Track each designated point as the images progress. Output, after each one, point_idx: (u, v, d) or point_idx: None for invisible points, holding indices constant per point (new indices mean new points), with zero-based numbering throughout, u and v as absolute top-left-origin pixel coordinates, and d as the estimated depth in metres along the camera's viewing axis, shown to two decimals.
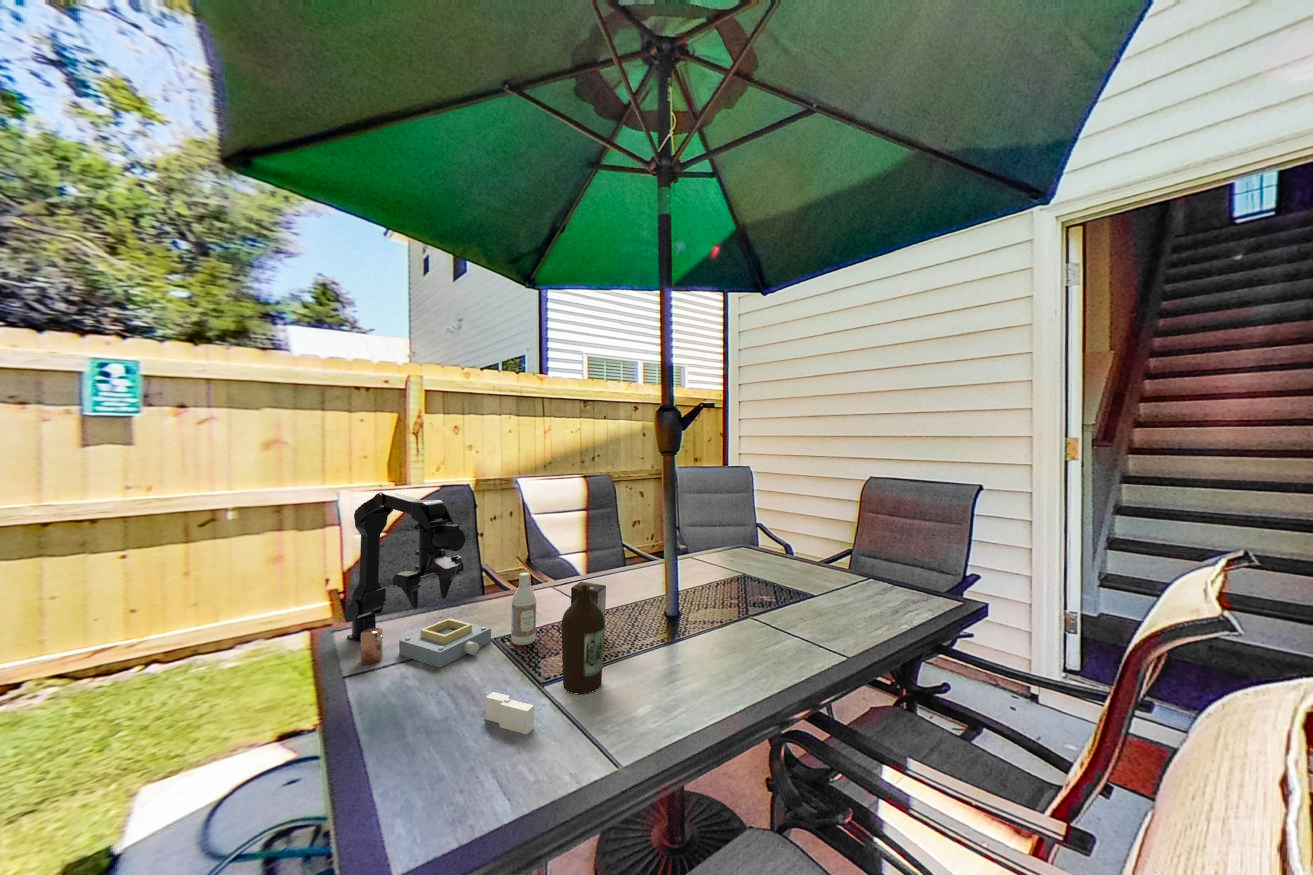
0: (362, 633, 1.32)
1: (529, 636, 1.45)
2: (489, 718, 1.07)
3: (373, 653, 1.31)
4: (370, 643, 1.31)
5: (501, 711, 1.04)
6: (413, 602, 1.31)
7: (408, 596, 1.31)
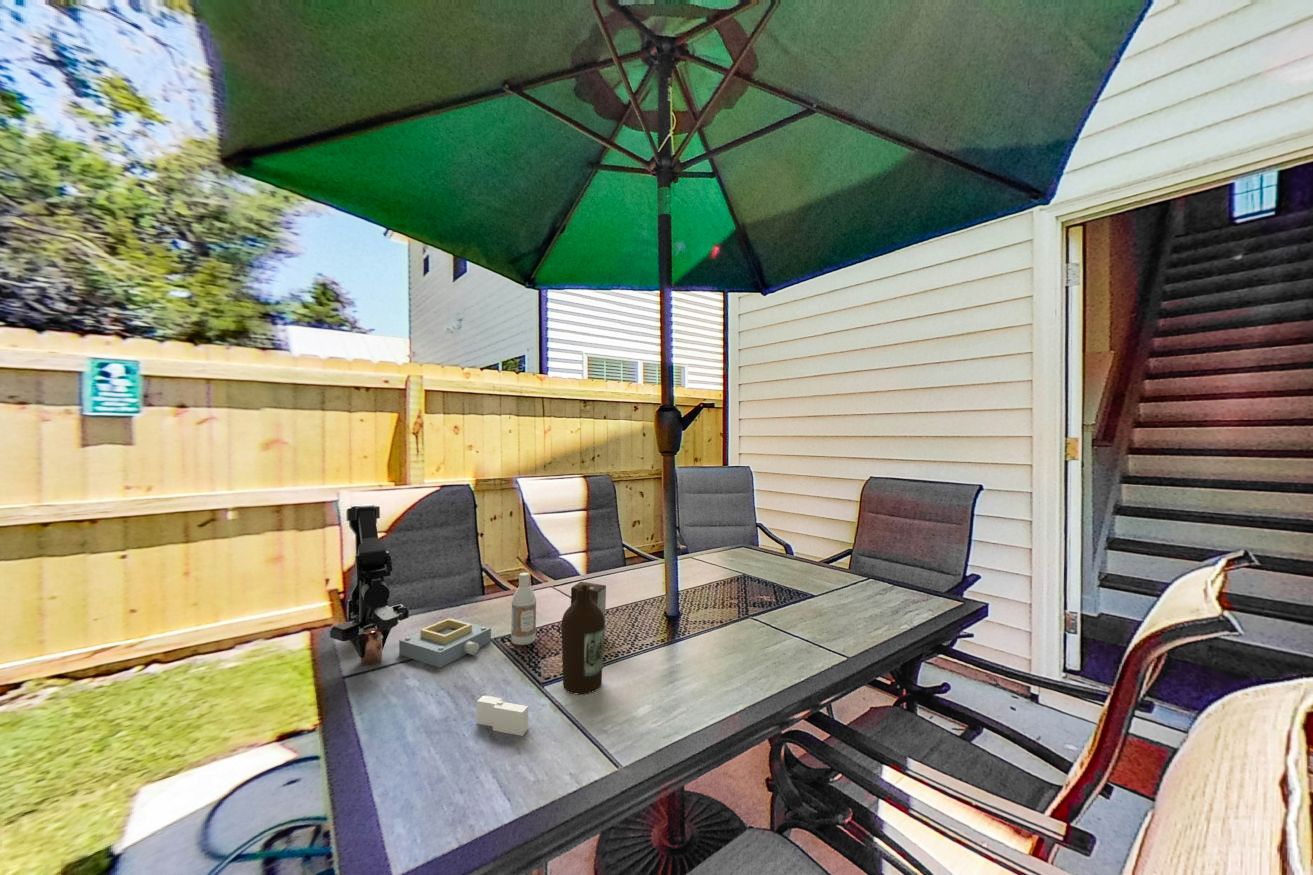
0: None
1: (529, 636, 1.45)
2: (481, 721, 1.06)
3: (373, 653, 1.31)
4: (370, 643, 1.31)
5: (494, 714, 1.03)
6: (359, 651, 1.30)
7: (354, 645, 1.30)
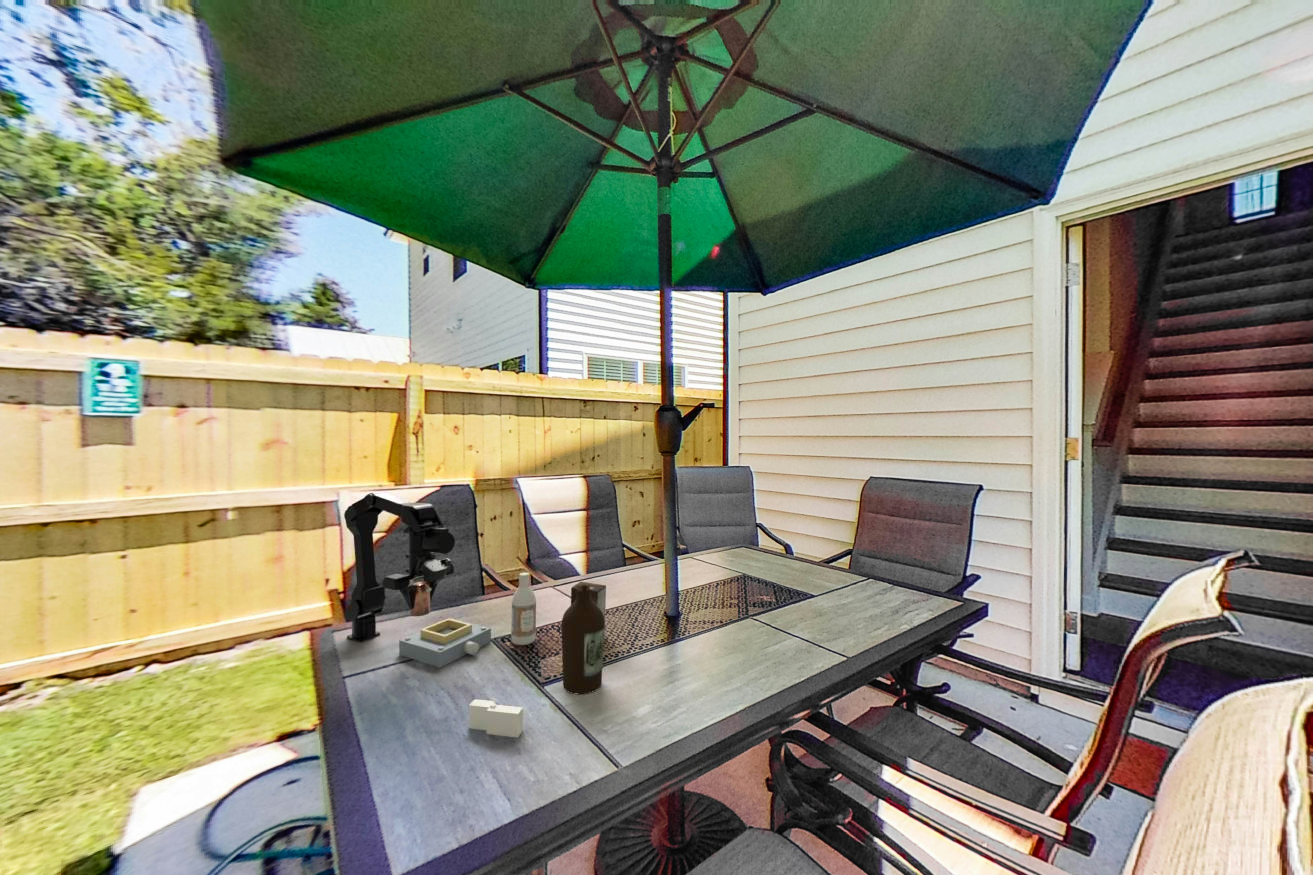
0: None
1: (529, 636, 1.45)
2: (473, 726, 1.04)
3: (422, 604, 1.36)
4: (419, 594, 1.36)
5: (488, 717, 1.02)
6: (409, 602, 1.35)
7: (405, 596, 1.35)
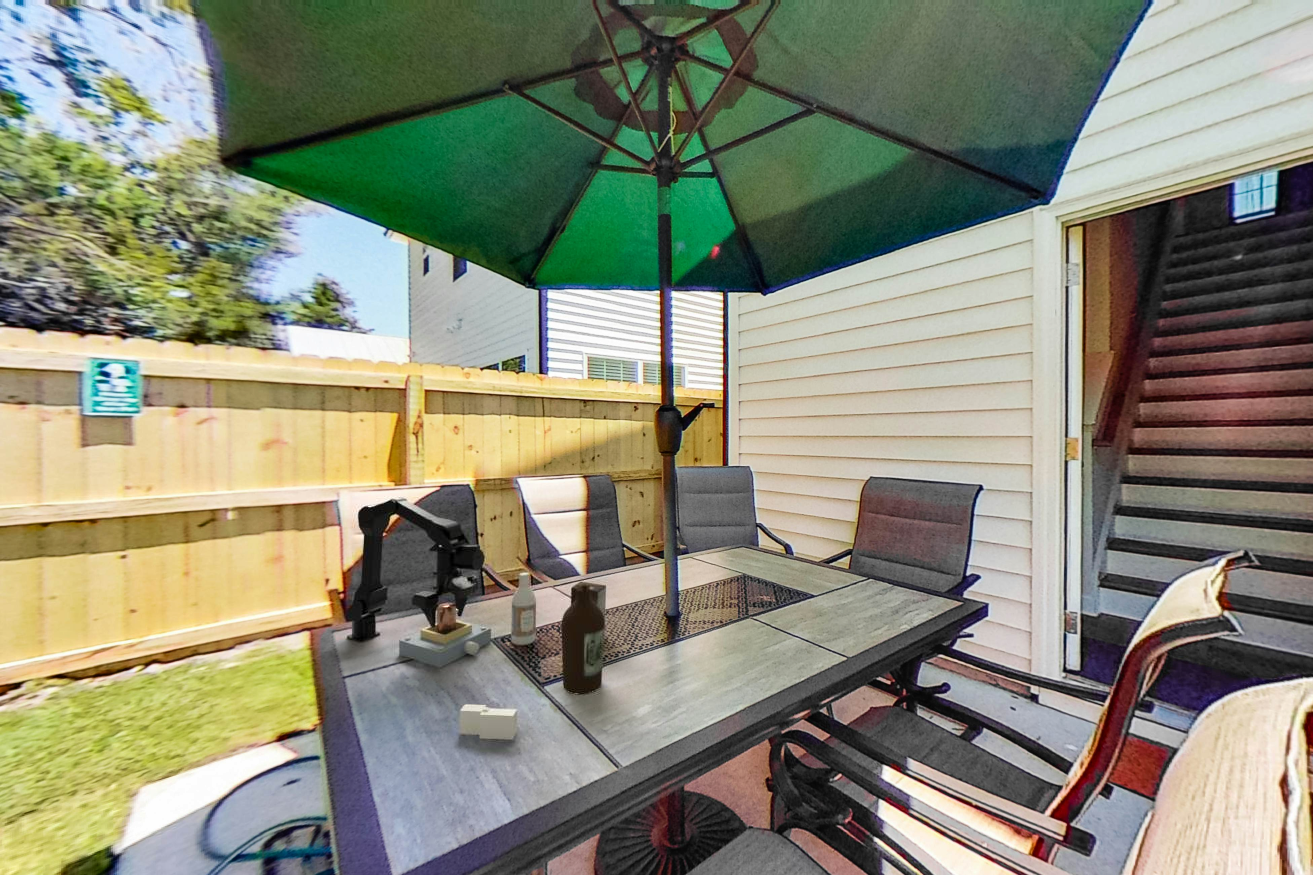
0: (438, 607, 1.40)
1: (529, 636, 1.45)
2: (464, 731, 1.02)
3: (449, 626, 1.40)
4: (446, 616, 1.39)
5: (481, 721, 1.01)
6: (431, 621, 1.37)
7: (426, 615, 1.37)
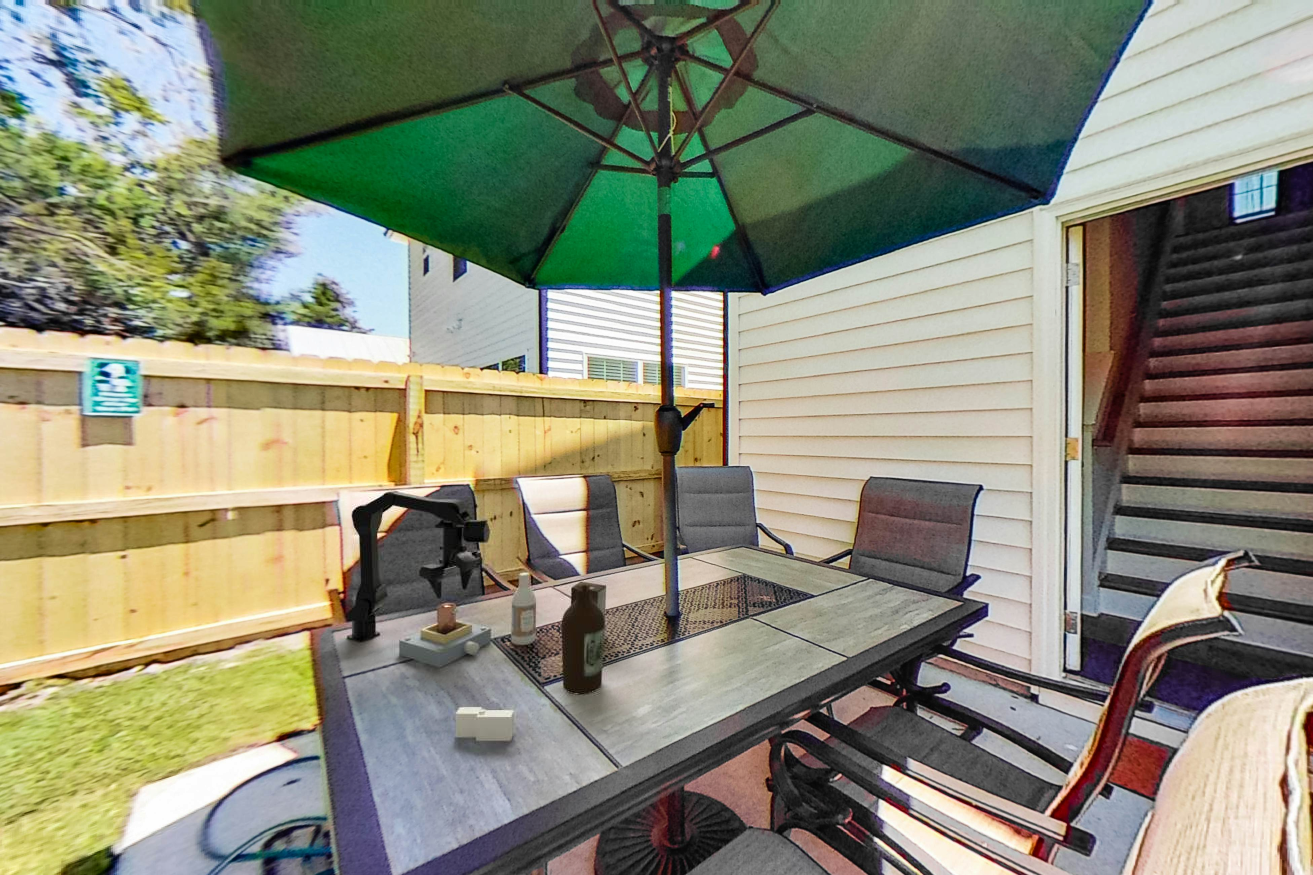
0: (438, 607, 1.40)
1: (529, 636, 1.45)
2: (460, 734, 1.01)
3: (449, 626, 1.40)
4: (446, 616, 1.39)
5: (478, 724, 1.00)
6: (437, 592, 1.44)
7: (433, 586, 1.45)
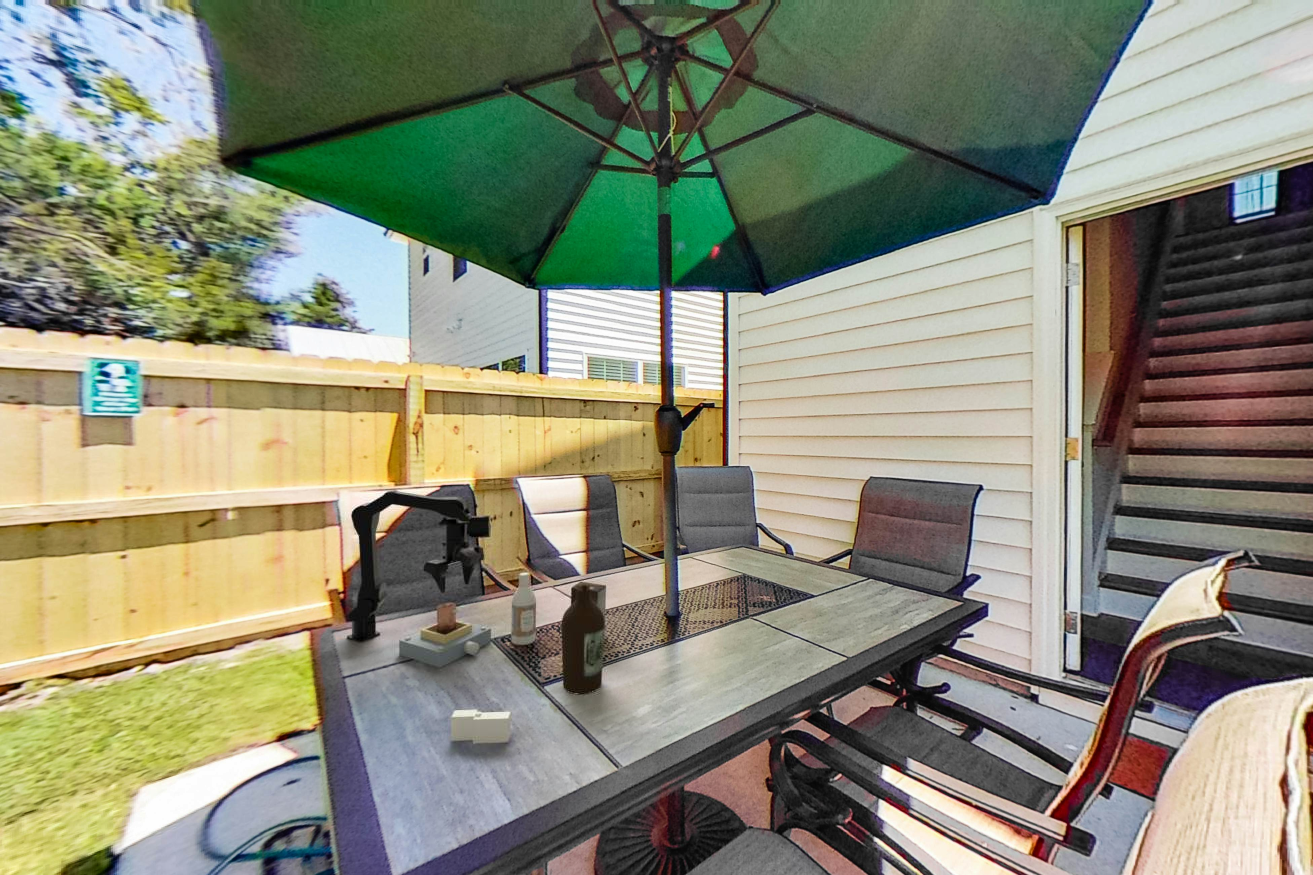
0: (438, 607, 1.40)
1: (529, 636, 1.45)
2: (456, 738, 1.00)
3: (449, 626, 1.40)
4: (446, 616, 1.39)
5: (475, 726, 0.99)
6: (441, 587, 1.49)
7: (437, 581, 1.49)
